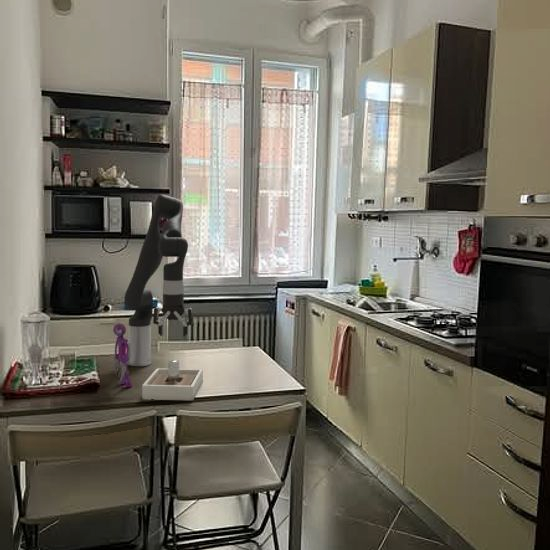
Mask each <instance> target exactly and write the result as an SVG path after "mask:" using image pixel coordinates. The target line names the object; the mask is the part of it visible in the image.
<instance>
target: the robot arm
mask: <svg viewBox="0 0 550 550" xmlns="http://www.w3.org/2000/svg"><path fill="white" fill-rule="evenodd" d="M183 211H184V203H183V201H182V200H180V198H179V199H178V198H175V197H172V196H169V195H165V194H161V193H160V194H159V195H158V196H157V197H156V200H155V202H154V205H153V209H152V214H151V217H150V222H149V226H148V229H147V232H146V235H145V238H144V241H143V243H142V246H141V250H140V253H139V255H138V260H137V264H136V265H135V269H134V272H133V274H132V277H131V280H130V282H129V284H128V287H127V289H126V292H125V293H124V305H125V308H126V309H128V310H130V311H134V313H133V314H132V315H131V316H130V318H128V342H127V343H128V346H129V352H128V357H129V361H128V362H127V366H132V367H145V366H149V365H151V364H152V342H151V341H152V337H151V336H152V334H151V333H152V332H151V329H152V326H151V324H152V323H153V325H157V329H158V334H159V337H162V336H163V335H164V323H165V321H167V320H168V321H171V320H173V321H177V320H179V322H180V323H181V324H182V331H183V332H182V335H183V336H182V337H184V338H185V337H186V336H188V334H189V326H192V325H193V323H194V316H193V315H194V313H193V308H192V307H188V308H185V305H184V299H185V298H184V297H185V294H184V292H185V288H184V287H185V286H184V264H185V260H186V256H187V253H188V249H189V243H188V241H187V239H186V238H185V237H182V236H183V234H182V228H181V227H182V221H183V220H182V219H183V215H184V214H183ZM160 218H161V219H165V220H166V221H164V223H163V225H162V229H161V230H162V234H161V231H160ZM165 257H166V258H171V257H173V258H177V260H175V261H173V262H169V263H165V264H164V266H163V270H162V271H163V276H162V277H163V280H162V281H163V282H162V306H161V307H158V306H155V307H154V296H153V293H152V291H151V290H150V289H149V288H148V287H146V286H147V283H148V281H149V280H150V279H151V278H152V276H154V274H155V272H156V271H157V270H158V268H159V267H160V266H161V263H162V260H163V258H165ZM153 307H154V309H153ZM160 313H162V314H163V316H162V318H161V319H160V320H159V314H160ZM184 313H185V314H186V315H187V317H188V321H187V320H186V317H185V316H184ZM151 321H152V322H151Z"/></svg>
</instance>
